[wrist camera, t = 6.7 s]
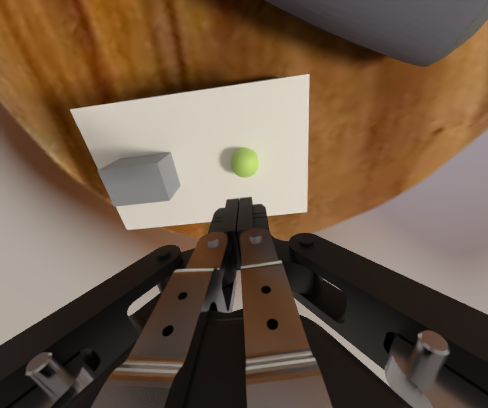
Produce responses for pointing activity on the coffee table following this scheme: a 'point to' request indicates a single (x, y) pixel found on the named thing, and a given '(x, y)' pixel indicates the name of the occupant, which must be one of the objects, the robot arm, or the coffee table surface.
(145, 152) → the plate
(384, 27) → the bluetooth speaker
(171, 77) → the coffee table surface
